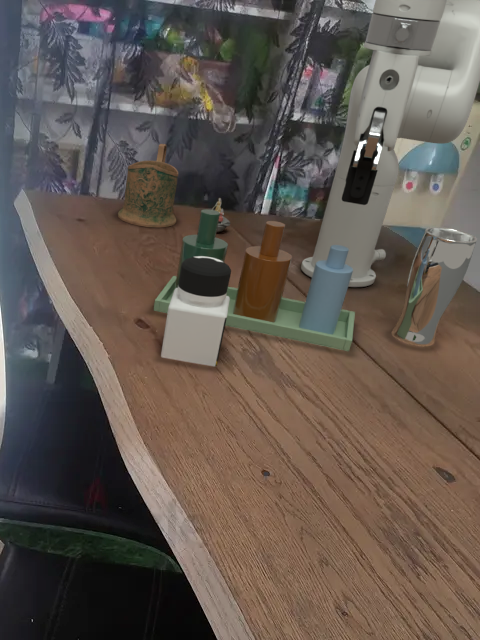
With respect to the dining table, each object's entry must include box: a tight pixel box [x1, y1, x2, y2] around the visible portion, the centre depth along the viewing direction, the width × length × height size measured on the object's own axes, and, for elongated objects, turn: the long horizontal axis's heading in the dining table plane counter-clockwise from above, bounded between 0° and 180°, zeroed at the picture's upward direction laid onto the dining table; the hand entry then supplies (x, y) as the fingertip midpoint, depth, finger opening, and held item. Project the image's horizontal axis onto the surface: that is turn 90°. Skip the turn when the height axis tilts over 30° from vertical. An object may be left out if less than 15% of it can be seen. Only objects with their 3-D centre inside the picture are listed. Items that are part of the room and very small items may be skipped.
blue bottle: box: [299, 245, 353, 334], centre depth 102 cm, size 5×5×12 cm
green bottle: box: [175, 208, 229, 289], centre depth 105 cm, size 6×6×13 cm
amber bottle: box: [233, 220, 293, 322], centre depth 103 cm, size 6×6×13 cm
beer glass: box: [391, 226, 478, 347], centre depth 102 cm, size 7×7×15 cm
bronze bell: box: [117, 143, 179, 228], centre depth 144 cm, size 12×18×12 cm, turn 167°
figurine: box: [211, 197, 231, 233], centre depth 140 cm, size 5×4×6 cm
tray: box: [153, 275, 356, 352], centre depth 107 cm, size 28×12×2 cm, turn 72°
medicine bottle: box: [160, 256, 232, 367], centre depth 92 cm, size 7×7×12 cm
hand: (355, 193), depth 95 cm, fingers open, 9 cm apart
